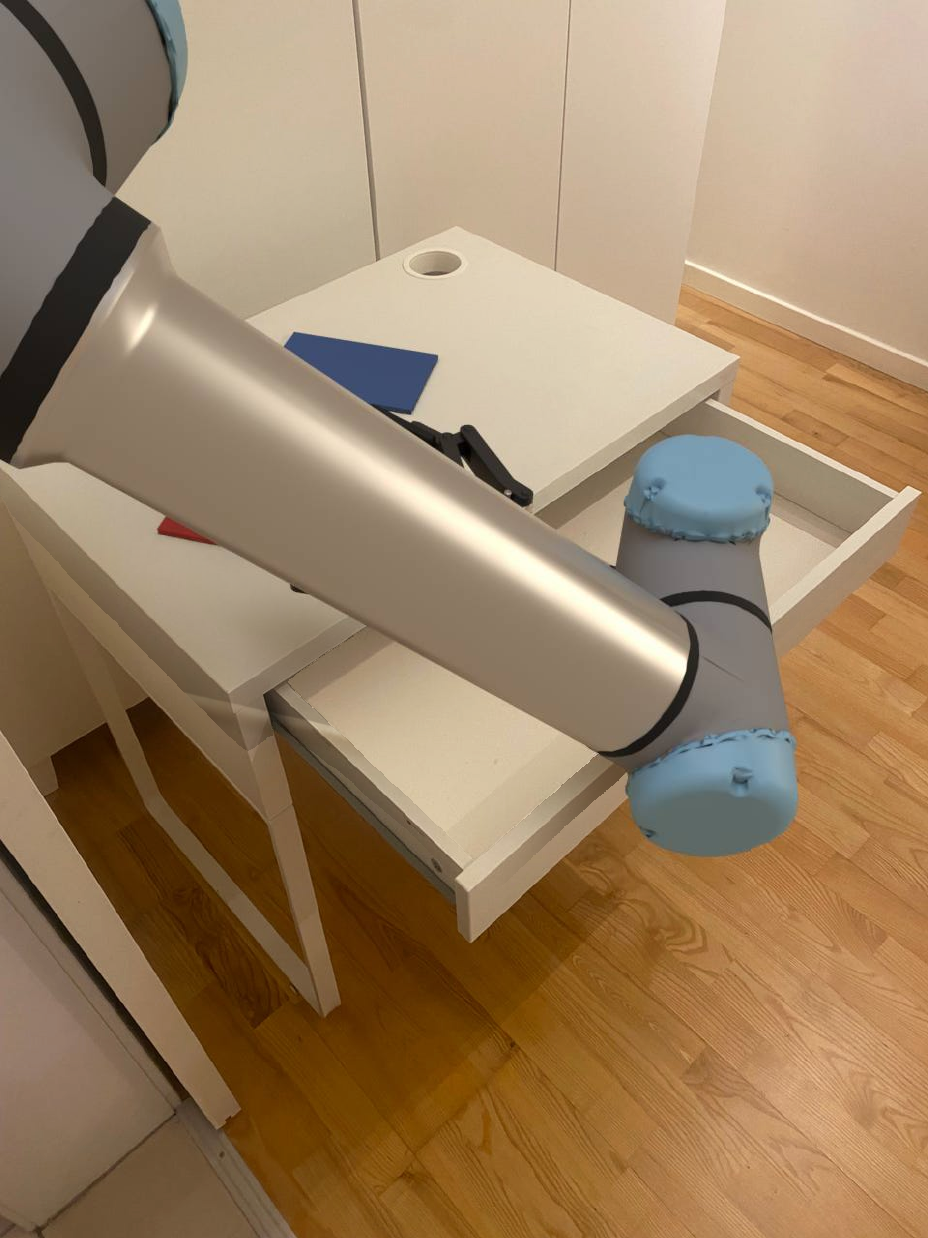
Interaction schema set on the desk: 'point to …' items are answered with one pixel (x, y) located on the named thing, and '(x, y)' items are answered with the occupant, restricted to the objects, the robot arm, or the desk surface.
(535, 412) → the desk surface
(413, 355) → the blue mat
